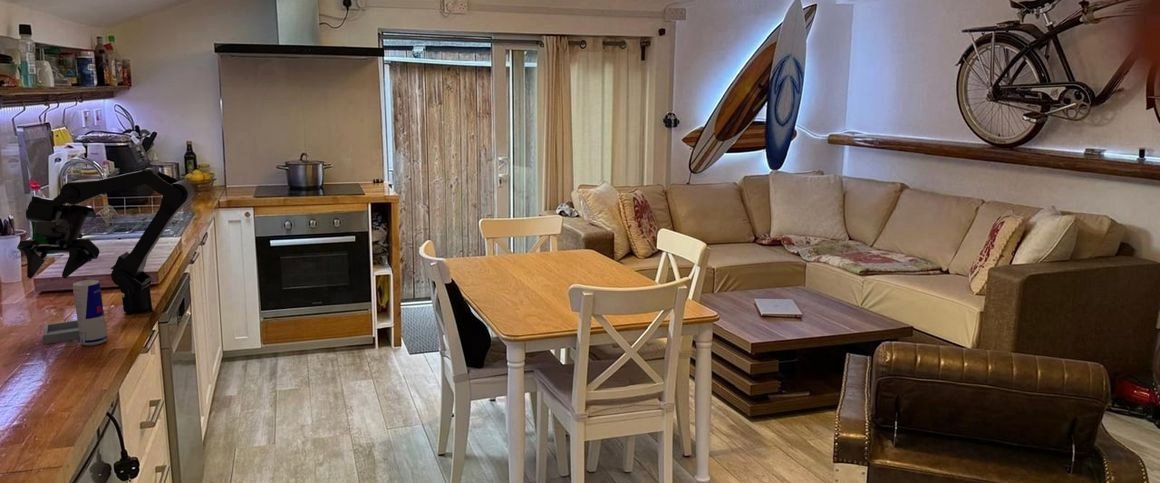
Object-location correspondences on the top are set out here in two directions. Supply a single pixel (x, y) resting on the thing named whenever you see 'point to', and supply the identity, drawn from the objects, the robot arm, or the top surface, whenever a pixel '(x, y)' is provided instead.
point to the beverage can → (90, 312)
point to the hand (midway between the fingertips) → (46, 277)
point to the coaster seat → (61, 332)
